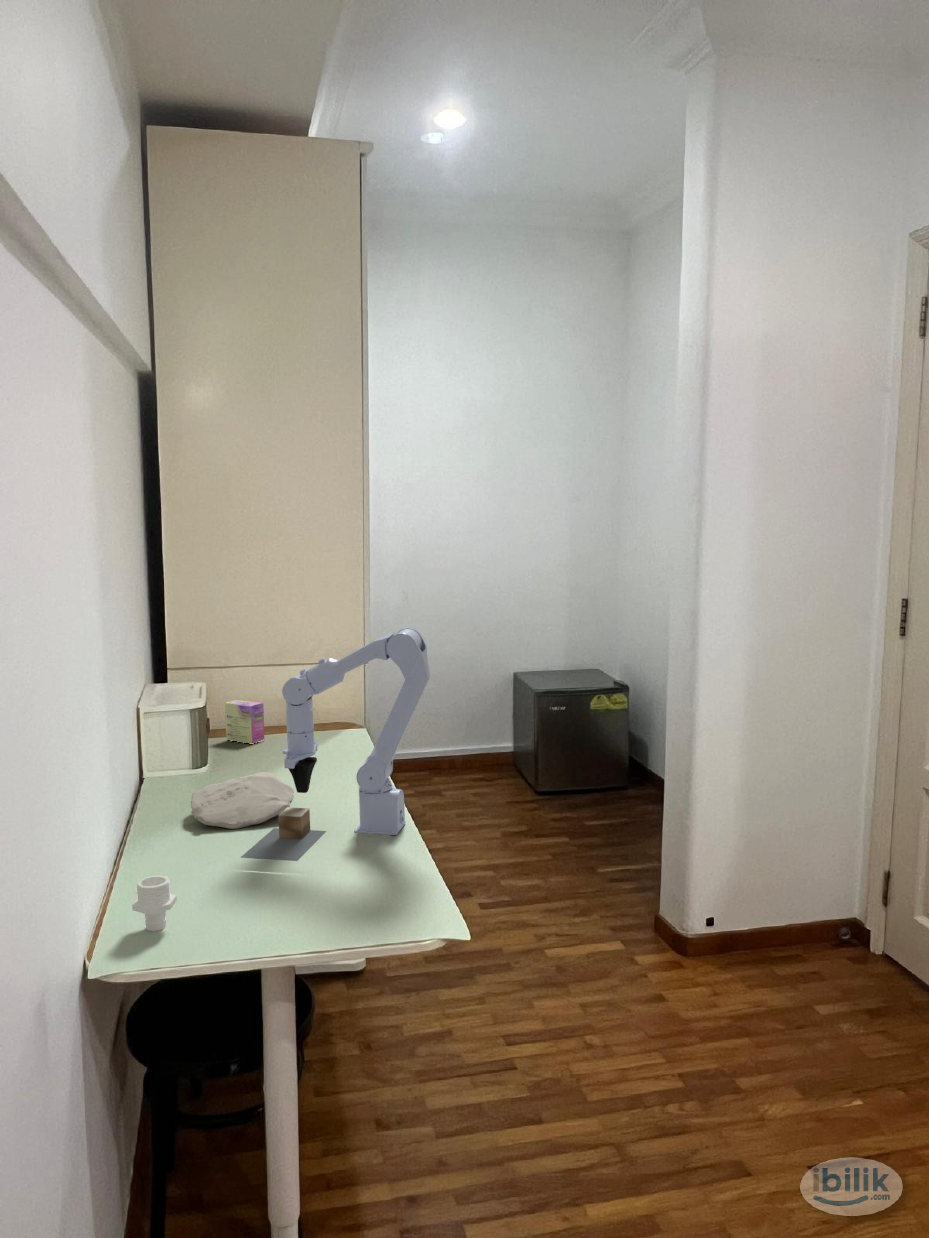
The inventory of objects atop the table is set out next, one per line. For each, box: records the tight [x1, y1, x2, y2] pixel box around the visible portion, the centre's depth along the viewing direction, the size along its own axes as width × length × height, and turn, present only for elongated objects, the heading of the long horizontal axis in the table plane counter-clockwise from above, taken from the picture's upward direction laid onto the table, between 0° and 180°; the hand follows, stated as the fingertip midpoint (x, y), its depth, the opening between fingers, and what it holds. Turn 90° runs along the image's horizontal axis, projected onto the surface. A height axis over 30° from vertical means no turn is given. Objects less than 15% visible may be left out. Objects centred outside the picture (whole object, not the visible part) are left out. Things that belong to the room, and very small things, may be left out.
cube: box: [277, 807, 311, 839], centre depth 200 cm, size 5×5×5 cm
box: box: [224, 699, 265, 744], centre depth 281 cm, size 10×6×12 cm, turn 60°
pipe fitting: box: [131, 875, 178, 932], centre depth 157 cm, size 6×7×8 cm
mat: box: [240, 827, 327, 862], centre depth 194 cm, size 12×17×1 cm
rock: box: [190, 771, 295, 830], centre depth 218 cm, size 8×23×30 cm
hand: (302, 791), depth 204 cm, fingers closed
